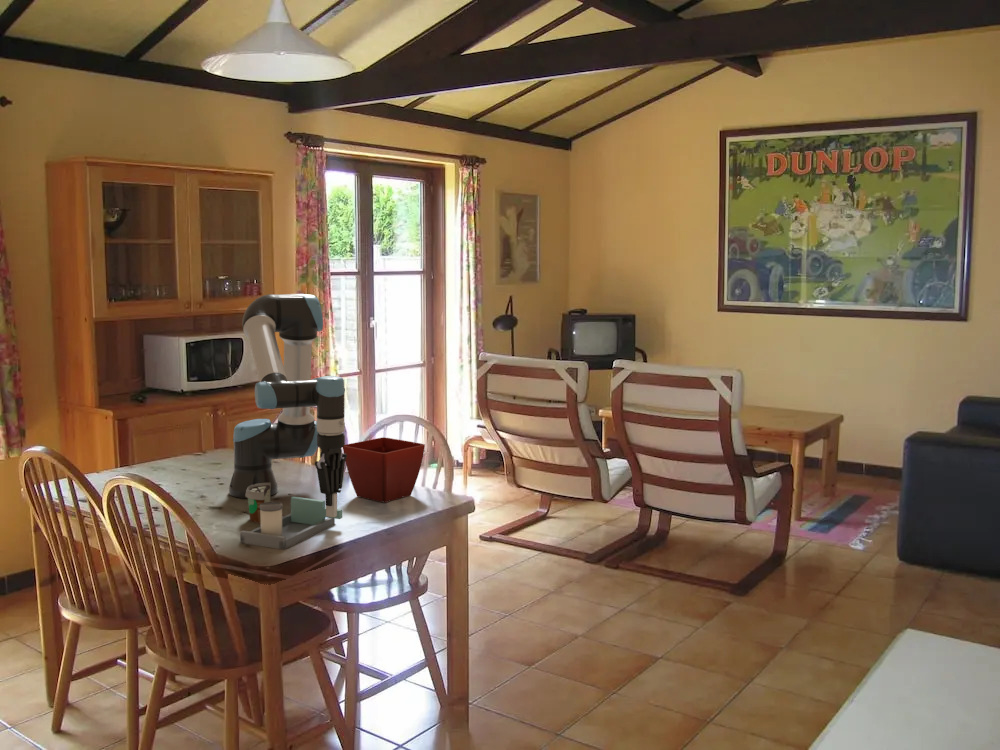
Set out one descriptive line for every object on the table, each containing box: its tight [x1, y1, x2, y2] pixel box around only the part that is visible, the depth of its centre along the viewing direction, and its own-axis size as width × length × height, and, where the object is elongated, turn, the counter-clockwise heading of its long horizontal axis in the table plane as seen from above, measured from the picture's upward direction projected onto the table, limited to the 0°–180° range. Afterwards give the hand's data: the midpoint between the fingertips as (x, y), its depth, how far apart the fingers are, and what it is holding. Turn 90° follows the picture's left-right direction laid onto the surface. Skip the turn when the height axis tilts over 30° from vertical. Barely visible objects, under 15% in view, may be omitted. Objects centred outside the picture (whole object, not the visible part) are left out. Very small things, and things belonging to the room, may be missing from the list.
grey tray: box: [239, 513, 336, 550], centre depth 259 cm, size 14×25×4 cm, turn 158°
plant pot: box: [342, 436, 426, 503], centre depth 301 cm, size 19×19×17 cm
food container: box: [245, 483, 271, 524], centre depth 272 cm, size 12×6×10 cm, turn 5°
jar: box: [260, 501, 283, 536], centre depth 251 cm, size 6×6×10 cm
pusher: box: [290, 496, 343, 525], centre depth 267 cm, size 16×2×7 cm, turn 68°
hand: (331, 516), depth 263 cm, fingers closed
